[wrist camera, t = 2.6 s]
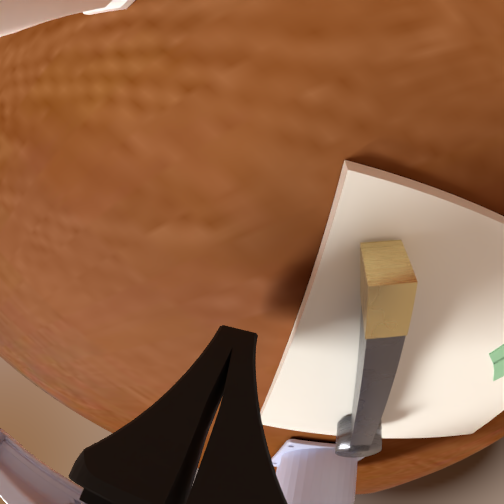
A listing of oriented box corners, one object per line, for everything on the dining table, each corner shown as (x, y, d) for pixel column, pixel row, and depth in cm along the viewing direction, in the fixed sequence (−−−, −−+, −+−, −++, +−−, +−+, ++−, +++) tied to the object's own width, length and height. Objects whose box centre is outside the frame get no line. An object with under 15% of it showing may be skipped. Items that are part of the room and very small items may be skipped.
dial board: (470, 424, 16) (471, 434, 16) (260, 411, 18) (257, 424, 17) (603, 274, 7) (611, 285, 6) (344, 159, 8) (348, 170, 7)
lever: (378, 429, 15) (378, 455, 14) (336, 431, 16) (334, 458, 14) (423, 238, 8) (444, 279, 6) (335, 244, 9) (337, 288, 7)
